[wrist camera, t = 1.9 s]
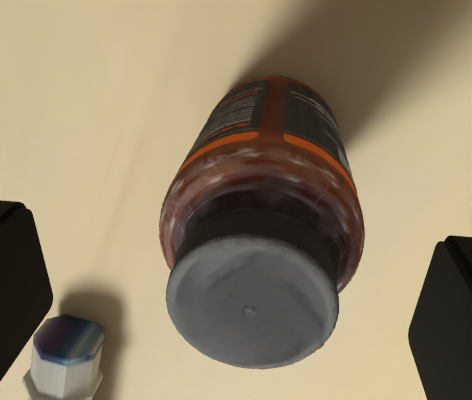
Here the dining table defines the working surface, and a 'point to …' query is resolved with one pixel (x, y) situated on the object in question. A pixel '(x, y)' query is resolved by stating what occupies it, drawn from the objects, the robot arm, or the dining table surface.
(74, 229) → the dining table surface
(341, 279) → the supplement bottle
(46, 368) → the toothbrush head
